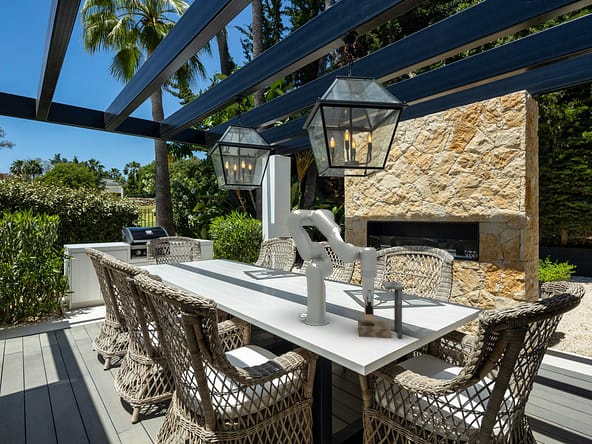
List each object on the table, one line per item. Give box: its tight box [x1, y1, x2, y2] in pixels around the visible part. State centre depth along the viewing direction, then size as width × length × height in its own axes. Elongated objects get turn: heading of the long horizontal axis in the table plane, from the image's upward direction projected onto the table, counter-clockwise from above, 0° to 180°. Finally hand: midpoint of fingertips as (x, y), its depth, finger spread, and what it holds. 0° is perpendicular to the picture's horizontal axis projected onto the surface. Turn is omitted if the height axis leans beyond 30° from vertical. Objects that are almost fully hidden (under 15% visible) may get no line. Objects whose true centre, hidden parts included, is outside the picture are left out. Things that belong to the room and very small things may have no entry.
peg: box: [363, 298, 375, 321], centre depth 155 cm, size 4×4×10 cm
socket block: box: [357, 281, 405, 340], centre depth 154 cm, size 20×12×23 cm, turn 81°
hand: (368, 312), depth 155 cm, fingers closed on peg, 4 cm apart
